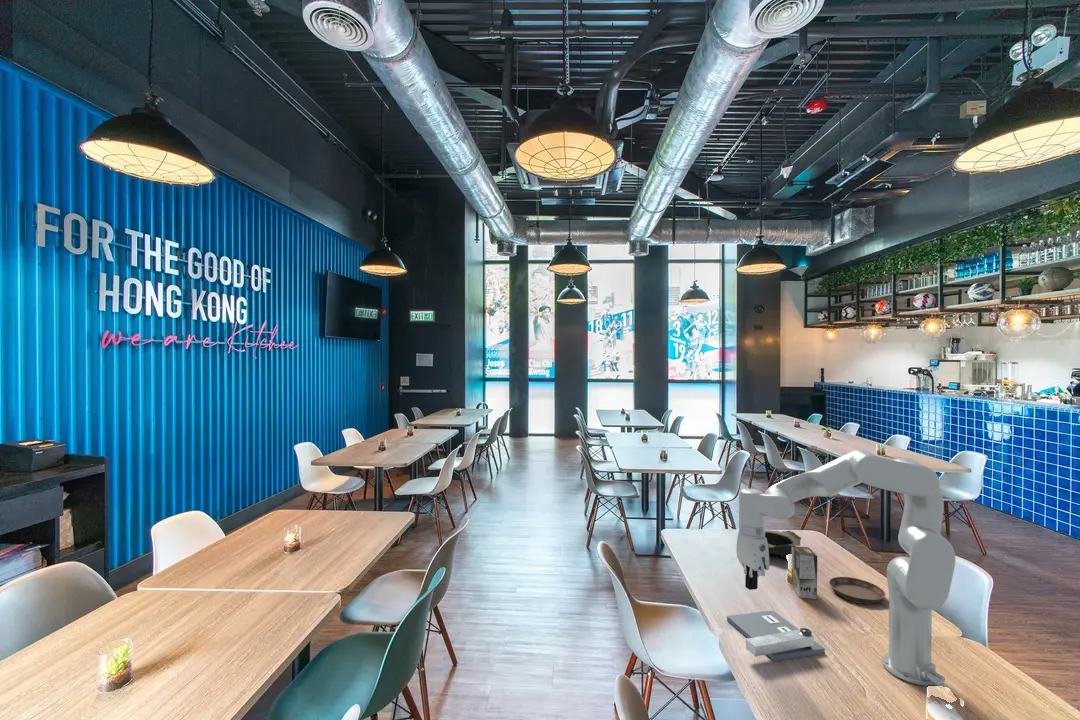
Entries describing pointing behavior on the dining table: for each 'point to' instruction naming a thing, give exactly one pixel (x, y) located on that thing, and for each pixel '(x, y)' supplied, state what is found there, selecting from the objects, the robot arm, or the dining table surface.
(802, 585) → the coffee box
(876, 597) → the plant saucer
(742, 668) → the dining table surface
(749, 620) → the label board
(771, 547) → the stone bowl
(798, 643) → the swing bar
